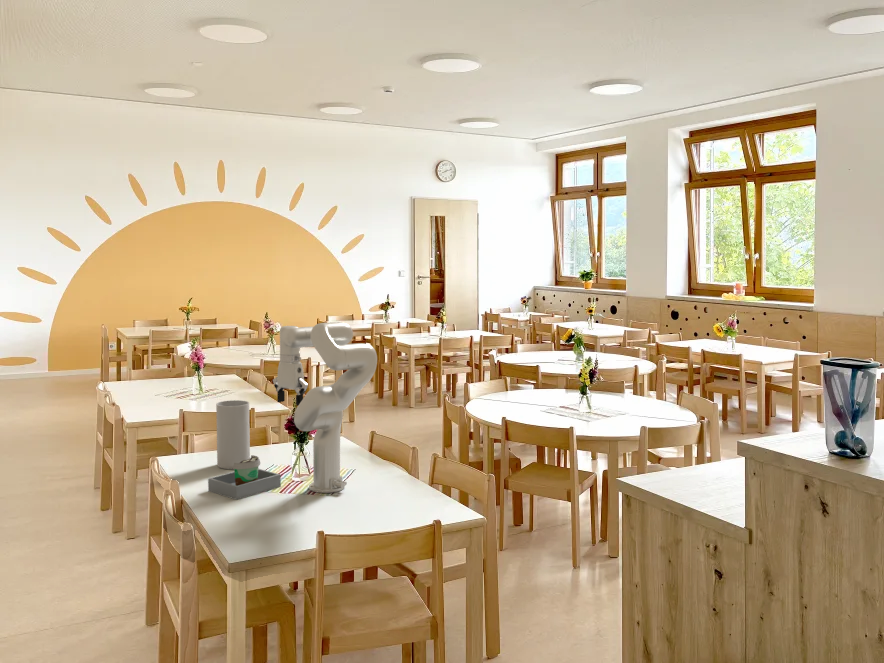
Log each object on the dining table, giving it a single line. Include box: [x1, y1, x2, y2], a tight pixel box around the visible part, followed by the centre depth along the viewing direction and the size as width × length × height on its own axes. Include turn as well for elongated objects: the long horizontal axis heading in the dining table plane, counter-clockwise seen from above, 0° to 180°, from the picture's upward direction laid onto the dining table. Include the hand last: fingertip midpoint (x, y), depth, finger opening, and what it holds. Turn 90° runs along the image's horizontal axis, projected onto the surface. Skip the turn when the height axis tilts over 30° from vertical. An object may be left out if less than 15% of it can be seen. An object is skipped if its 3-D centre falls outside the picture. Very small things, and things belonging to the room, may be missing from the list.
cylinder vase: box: [215, 399, 251, 470], centre depth 311 cm, size 12×12×25 cm
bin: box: [207, 468, 282, 500], centre depth 282 cm, size 16×20×4 cm
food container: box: [232, 454, 261, 486], centre depth 281 cm, size 12×6×10 cm, turn 162°
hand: (290, 403), depth 300 cm, fingers open, 9 cm apart
